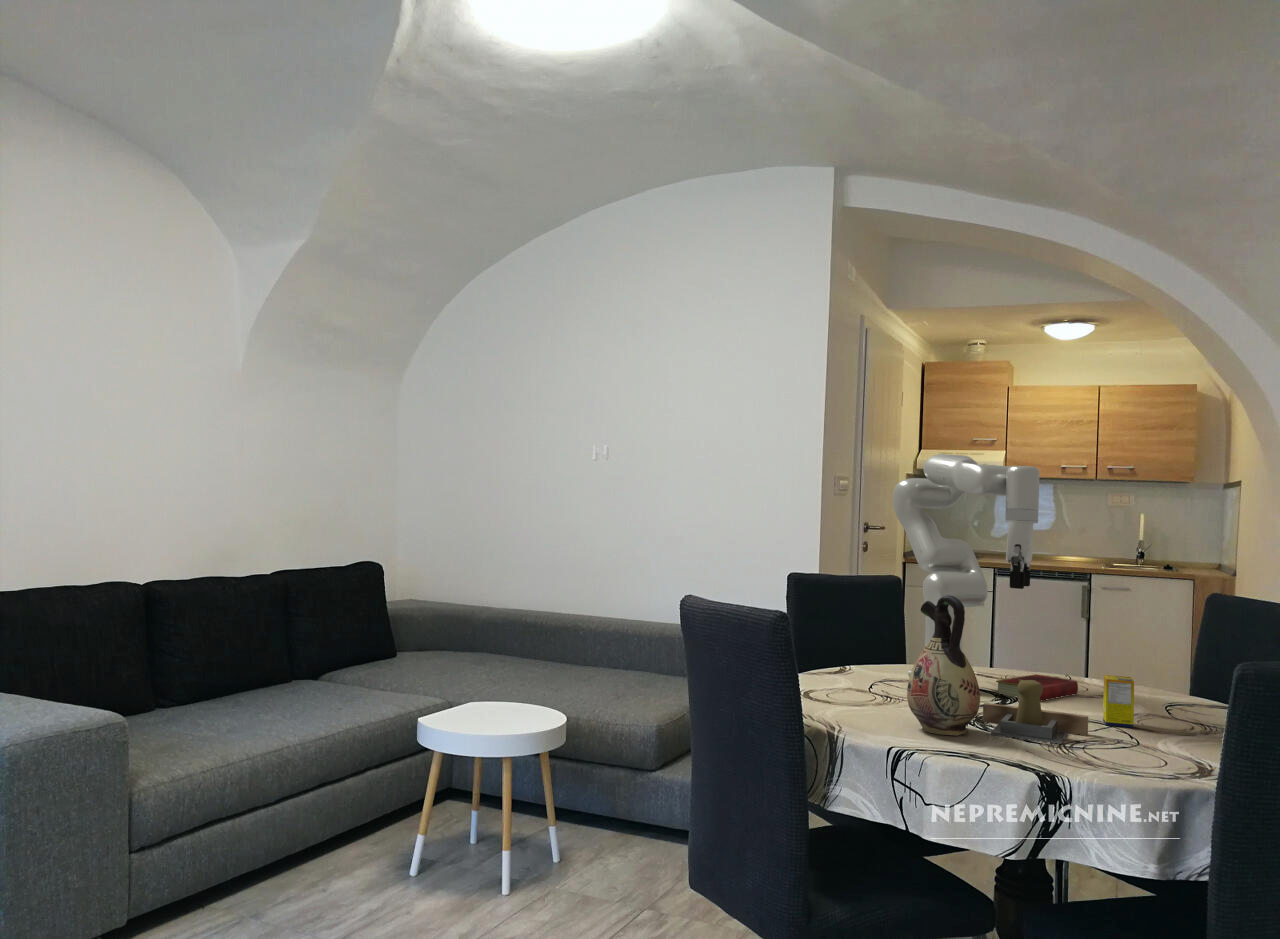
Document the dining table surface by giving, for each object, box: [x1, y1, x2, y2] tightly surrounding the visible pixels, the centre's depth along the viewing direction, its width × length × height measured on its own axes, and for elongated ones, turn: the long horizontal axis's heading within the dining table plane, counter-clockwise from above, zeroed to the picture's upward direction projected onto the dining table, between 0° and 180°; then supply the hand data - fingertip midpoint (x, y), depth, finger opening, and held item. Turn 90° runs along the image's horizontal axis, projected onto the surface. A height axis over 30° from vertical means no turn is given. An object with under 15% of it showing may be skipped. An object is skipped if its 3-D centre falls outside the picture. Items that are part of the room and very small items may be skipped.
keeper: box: [990, 713, 1068, 745], centre depth 216 cm, size 14×12×3 cm
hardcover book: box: [995, 673, 1079, 702], centre depth 265 cm, size 12×21×4 cm, turn 130°
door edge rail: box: [982, 702, 1089, 736], centre depth 223 cm, size 22×2×4 cm, turn 61°
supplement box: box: [1102, 674, 1135, 729], centre depth 230 cm, size 6×6×11 cm
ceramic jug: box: [906, 595, 981, 737], centre depth 216 cm, size 17×15×30 cm
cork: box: [1016, 680, 1043, 725], centre depth 217 cm, size 6×6×11 cm
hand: (1019, 587), depth 240 cm, fingers open, 9 cm apart
